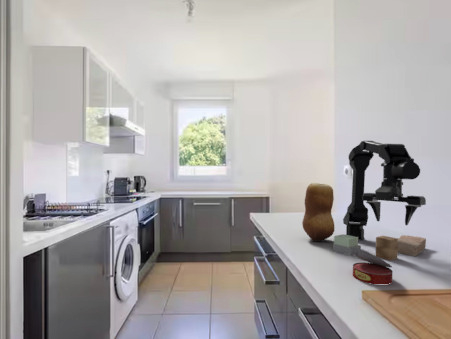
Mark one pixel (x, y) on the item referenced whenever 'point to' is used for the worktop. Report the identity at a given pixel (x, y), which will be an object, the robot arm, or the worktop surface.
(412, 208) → the robot arm
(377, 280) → the canned food
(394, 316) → the worktop surface
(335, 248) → the base block
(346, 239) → the top block
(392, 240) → the tan rectangular prism
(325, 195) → the butternut squash
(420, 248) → the brick
